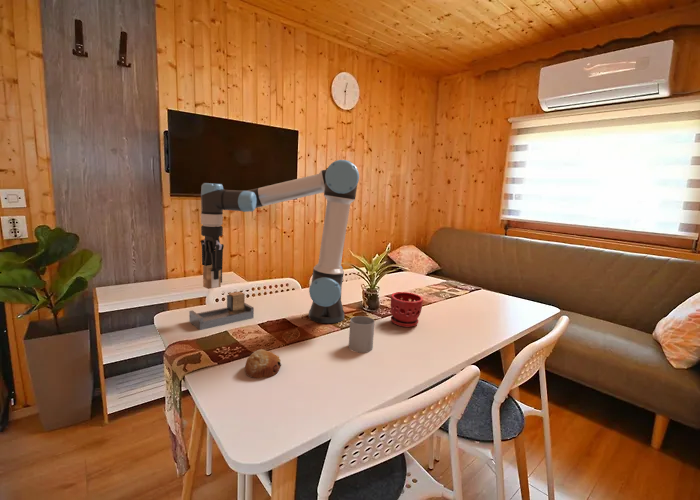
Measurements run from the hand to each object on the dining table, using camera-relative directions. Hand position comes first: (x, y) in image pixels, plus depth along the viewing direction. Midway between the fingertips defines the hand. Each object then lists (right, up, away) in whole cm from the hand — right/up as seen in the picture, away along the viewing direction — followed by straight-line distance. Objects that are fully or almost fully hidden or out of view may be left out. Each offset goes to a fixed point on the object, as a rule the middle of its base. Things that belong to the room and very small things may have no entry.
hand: (211, 285), depth 139 cm
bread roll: (+27, -22, -31) cm, 47 cm away
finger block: (0, 0, 0) cm, 0 cm away
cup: (+57, -21, -12) cm, 62 cm away
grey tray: (+2, -14, +6) cm, 16 cm away
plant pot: (+76, -18, +14) cm, 79 cm away
